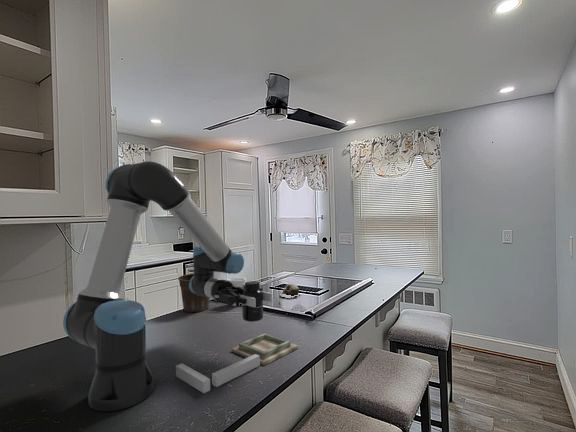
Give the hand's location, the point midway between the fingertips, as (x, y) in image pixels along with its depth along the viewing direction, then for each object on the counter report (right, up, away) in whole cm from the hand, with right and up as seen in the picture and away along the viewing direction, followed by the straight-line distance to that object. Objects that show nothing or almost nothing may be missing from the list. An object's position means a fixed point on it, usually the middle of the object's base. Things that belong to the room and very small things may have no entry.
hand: (263, 300), depth 104 cm
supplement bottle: (-4, -7, +3) cm, 9 cm away
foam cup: (-18, -19, +63) cm, 68 cm away
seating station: (0, -19, +7) cm, 20 cm away
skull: (+9, -18, +78) cm, 80 cm away
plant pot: (-38, -19, +56) cm, 70 cm away
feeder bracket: (-13, -19, -7) cm, 24 cm away
